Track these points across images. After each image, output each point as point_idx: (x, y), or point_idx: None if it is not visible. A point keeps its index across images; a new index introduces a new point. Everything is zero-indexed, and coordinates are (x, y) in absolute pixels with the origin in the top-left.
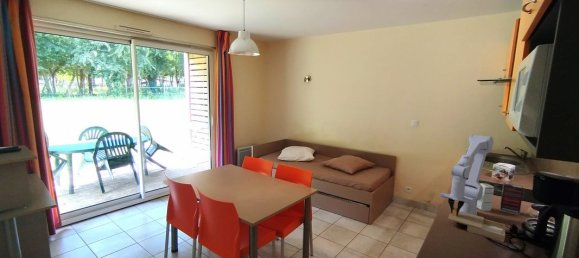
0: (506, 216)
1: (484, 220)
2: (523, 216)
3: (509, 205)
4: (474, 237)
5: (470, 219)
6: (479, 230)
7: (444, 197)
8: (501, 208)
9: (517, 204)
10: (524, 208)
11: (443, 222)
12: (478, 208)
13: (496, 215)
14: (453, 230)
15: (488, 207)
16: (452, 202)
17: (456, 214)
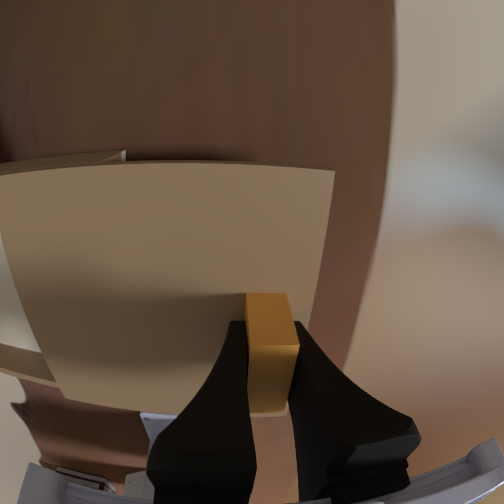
0: (71, 455)
1: None
2: (48, 462)
3: None
4: (65, 69)
5: (106, 313)
6: (21, 165)
7: (449, 465)
8: (100, 486)
9: None
10: None
11: (341, 198)
12: None
13: (94, 454)
14: (241, 67)
15: (130, 486)
16: (357, 440)
17: (243, 323)
